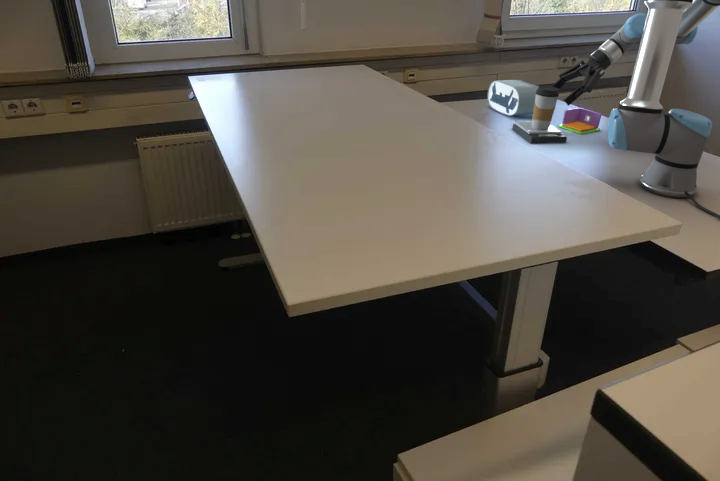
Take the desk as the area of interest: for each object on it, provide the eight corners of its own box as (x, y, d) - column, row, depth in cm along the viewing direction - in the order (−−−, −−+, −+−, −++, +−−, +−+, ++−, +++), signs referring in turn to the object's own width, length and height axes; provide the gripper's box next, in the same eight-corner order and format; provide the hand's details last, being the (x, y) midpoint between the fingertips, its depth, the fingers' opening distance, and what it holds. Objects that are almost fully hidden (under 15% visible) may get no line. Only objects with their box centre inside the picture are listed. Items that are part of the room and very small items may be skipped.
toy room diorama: (575, 122, 222) (579, 106, 218) (600, 130, 213) (605, 113, 210) (557, 126, 216) (560, 109, 213) (581, 134, 207) (586, 117, 204)
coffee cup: (552, 132, 198) (561, 91, 190) (529, 130, 199) (537, 89, 192) (550, 125, 205) (558, 86, 197) (528, 123, 206) (535, 84, 199)
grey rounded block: (485, 106, 238) (489, 77, 232) (519, 104, 245) (524, 75, 239) (515, 120, 221) (521, 89, 214) (551, 117, 227) (558, 87, 221)
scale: (565, 143, 197) (567, 134, 196) (530, 143, 195) (532, 135, 194) (545, 129, 212) (546, 121, 210) (512, 129, 210) (513, 121, 208)
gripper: (629, 71, 183) (579, 114, 188) (591, 57, 204) (546, 96, 209) (620, 55, 179) (569, 99, 184) (581, 43, 201) (537, 82, 206)
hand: (557, 98), depth 197 cm, fingers open, 13 cm apart
